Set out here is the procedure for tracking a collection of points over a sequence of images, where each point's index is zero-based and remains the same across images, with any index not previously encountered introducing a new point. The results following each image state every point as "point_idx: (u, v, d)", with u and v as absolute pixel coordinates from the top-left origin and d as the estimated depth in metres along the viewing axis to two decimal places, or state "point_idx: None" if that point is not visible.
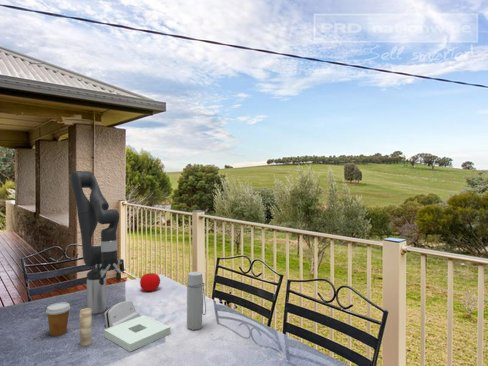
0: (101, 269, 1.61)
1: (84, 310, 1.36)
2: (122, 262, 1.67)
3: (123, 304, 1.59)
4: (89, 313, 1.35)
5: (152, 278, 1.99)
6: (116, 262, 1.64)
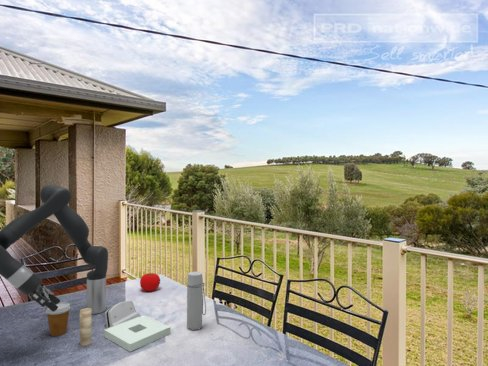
0: (47, 289, 1.33)
1: (84, 310, 1.36)
2: None
3: (123, 304, 1.59)
4: (89, 313, 1.35)
5: (152, 278, 1.99)
6: None
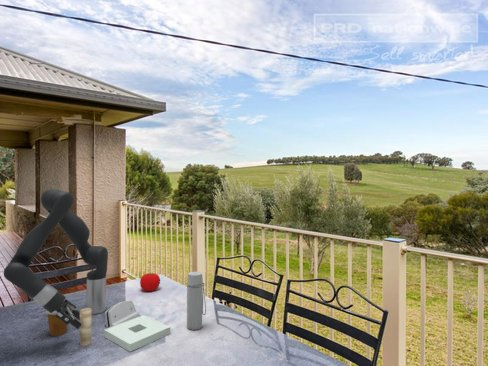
0: (71, 305, 1.37)
1: (84, 310, 1.36)
2: None
3: (123, 304, 1.59)
4: (89, 313, 1.35)
5: (152, 278, 1.99)
6: None
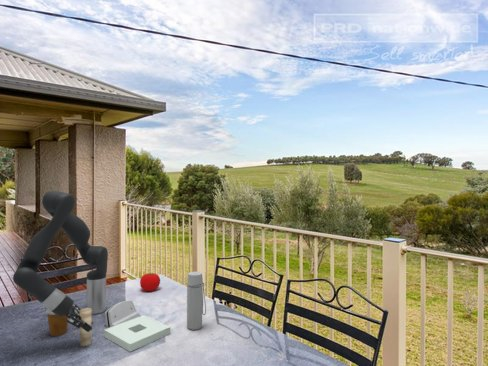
0: None
1: (84, 310, 1.36)
2: None
3: (123, 304, 1.59)
4: (89, 313, 1.35)
5: (152, 278, 1.99)
6: None
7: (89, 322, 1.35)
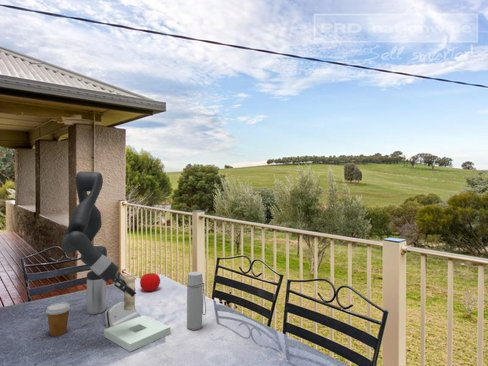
0: None
1: (128, 276, 1.42)
2: None
3: (123, 304, 1.59)
4: (133, 279, 1.41)
5: (152, 278, 1.99)
6: None
7: (133, 287, 1.41)
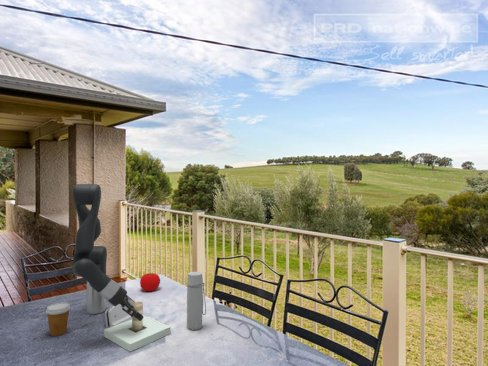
0: (131, 300, 1.46)
1: (136, 303, 1.43)
2: None
3: None
4: (141, 306, 1.43)
5: (152, 278, 1.99)
6: None
7: None
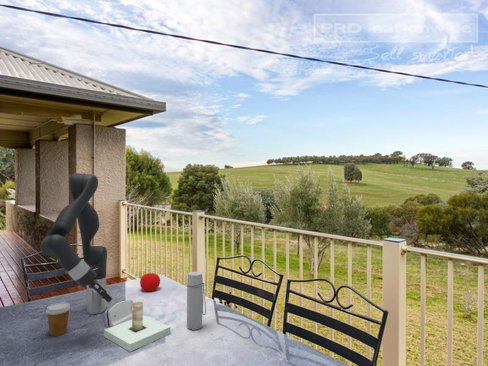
0: None
1: (136, 303, 1.43)
2: (95, 289, 1.34)
3: (123, 303, 1.60)
4: (141, 306, 1.43)
5: (152, 278, 1.99)
6: (92, 287, 1.36)
7: (141, 315, 1.43)
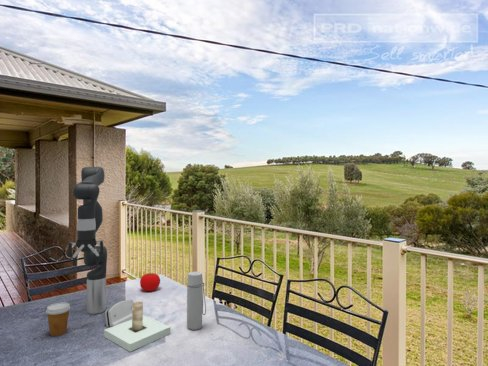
0: None
1: (136, 303, 1.43)
2: (101, 244, 1.47)
3: (123, 303, 1.60)
4: (141, 306, 1.43)
5: (152, 278, 1.99)
6: (93, 243, 1.46)
7: (141, 315, 1.43)
